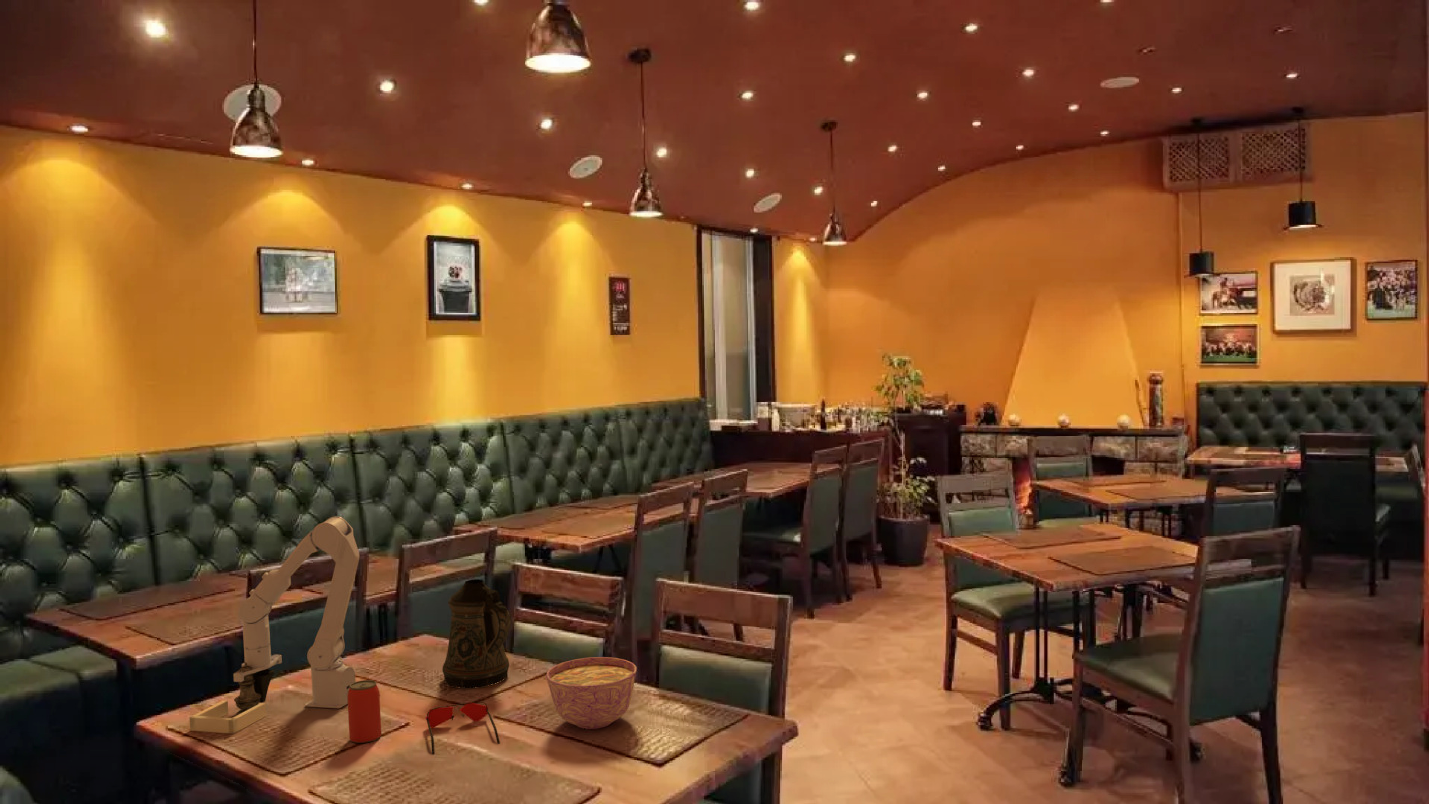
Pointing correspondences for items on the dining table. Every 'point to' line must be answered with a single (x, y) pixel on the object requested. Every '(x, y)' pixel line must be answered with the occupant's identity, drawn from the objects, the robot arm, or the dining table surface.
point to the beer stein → (476, 637)
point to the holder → (215, 722)
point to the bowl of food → (592, 690)
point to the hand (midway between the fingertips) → (260, 701)
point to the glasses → (446, 713)
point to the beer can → (364, 711)
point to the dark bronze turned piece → (247, 692)
